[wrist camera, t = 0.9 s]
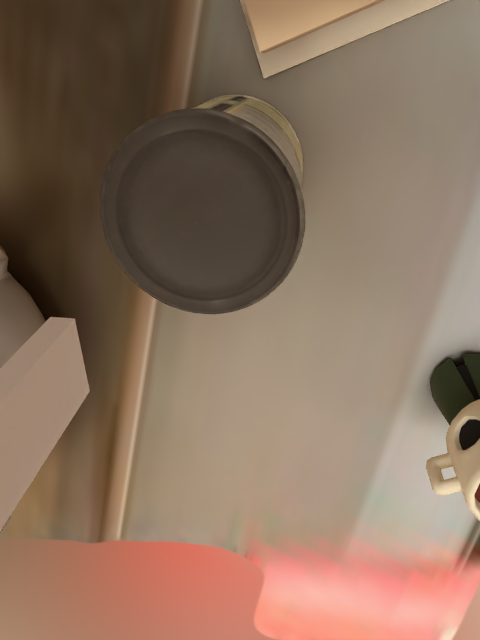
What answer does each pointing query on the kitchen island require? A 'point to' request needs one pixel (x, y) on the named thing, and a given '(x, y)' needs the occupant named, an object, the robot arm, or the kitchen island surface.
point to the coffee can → (207, 204)
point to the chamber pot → (15, 315)
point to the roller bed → (336, 33)
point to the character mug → (459, 429)
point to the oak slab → (297, 18)
